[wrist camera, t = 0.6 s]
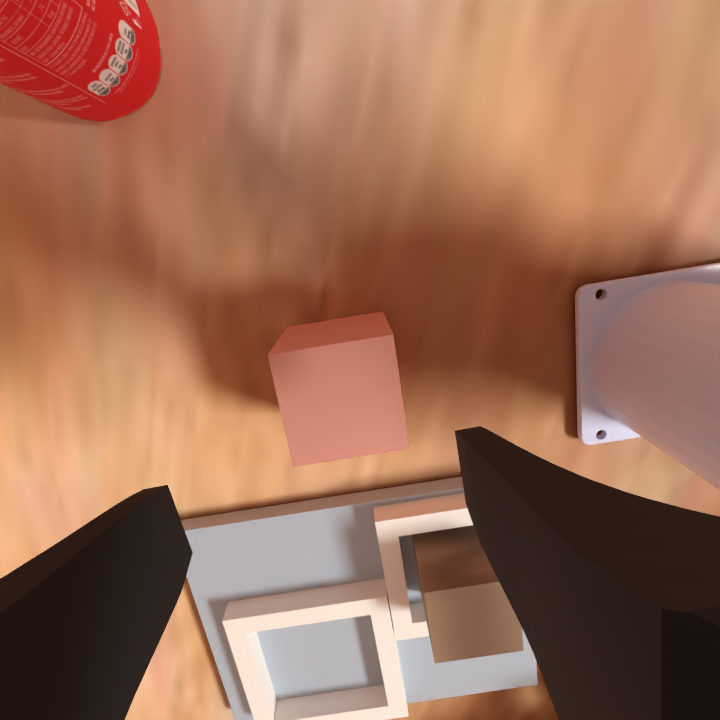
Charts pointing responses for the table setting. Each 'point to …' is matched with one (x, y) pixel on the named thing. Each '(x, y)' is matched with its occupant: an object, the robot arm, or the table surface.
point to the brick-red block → (339, 389)
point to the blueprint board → (333, 606)
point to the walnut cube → (463, 597)
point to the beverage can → (81, 54)
